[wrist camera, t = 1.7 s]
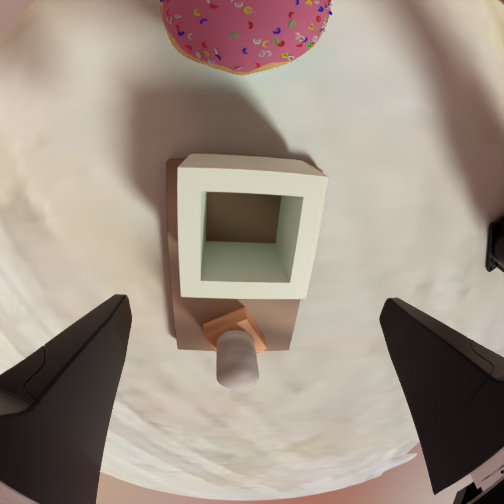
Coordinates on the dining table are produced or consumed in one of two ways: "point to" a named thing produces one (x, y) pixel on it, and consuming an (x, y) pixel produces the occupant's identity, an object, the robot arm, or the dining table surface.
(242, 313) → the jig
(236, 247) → the square hollow sleeve
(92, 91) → the dining table surface
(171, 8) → the cupcake
